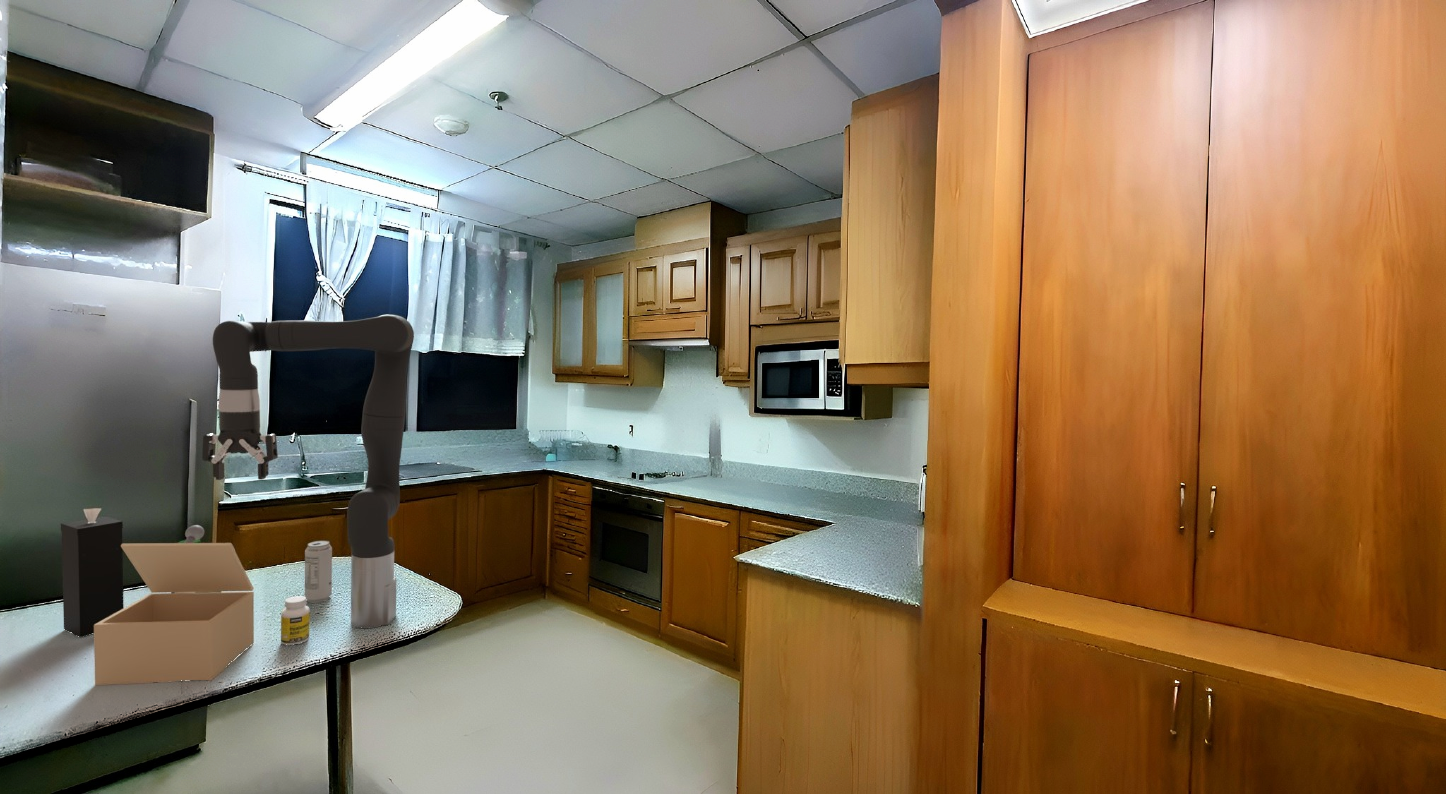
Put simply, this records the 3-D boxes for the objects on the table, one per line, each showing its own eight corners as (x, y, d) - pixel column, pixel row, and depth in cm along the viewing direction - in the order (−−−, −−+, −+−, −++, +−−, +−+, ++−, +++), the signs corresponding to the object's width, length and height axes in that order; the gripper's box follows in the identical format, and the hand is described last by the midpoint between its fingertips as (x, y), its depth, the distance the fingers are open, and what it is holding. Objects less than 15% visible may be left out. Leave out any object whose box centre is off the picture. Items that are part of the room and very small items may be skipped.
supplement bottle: (288, 648, 144) (288, 605, 143) (276, 641, 147) (276, 599, 146) (314, 640, 148) (314, 598, 148) (302, 633, 151) (302, 592, 151)
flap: (252, 590, 144) (266, 563, 150) (229, 545, 135) (245, 518, 140) (151, 592, 141) (169, 564, 146) (120, 545, 131) (141, 517, 136)
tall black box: (124, 625, 151) (122, 507, 149) (79, 638, 144) (77, 514, 142) (107, 618, 154) (105, 502, 152) (62, 630, 147) (60, 508, 145)
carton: (253, 643, 145) (253, 591, 144) (211, 680, 129) (211, 621, 129) (151, 647, 141) (150, 593, 141) (95, 684, 126) (93, 624, 125)
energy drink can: (336, 598, 172) (336, 543, 171) (311, 605, 167) (312, 548, 166) (324, 592, 175) (324, 538, 174) (300, 599, 170) (300, 543, 169)
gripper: (282, 407, 153) (283, 475, 154) (213, 407, 150) (215, 476, 151) (266, 411, 146) (267, 482, 147) (194, 410, 143) (196, 482, 144)
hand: (241, 479), depth 149 cm, fingers open, 8 cm apart
